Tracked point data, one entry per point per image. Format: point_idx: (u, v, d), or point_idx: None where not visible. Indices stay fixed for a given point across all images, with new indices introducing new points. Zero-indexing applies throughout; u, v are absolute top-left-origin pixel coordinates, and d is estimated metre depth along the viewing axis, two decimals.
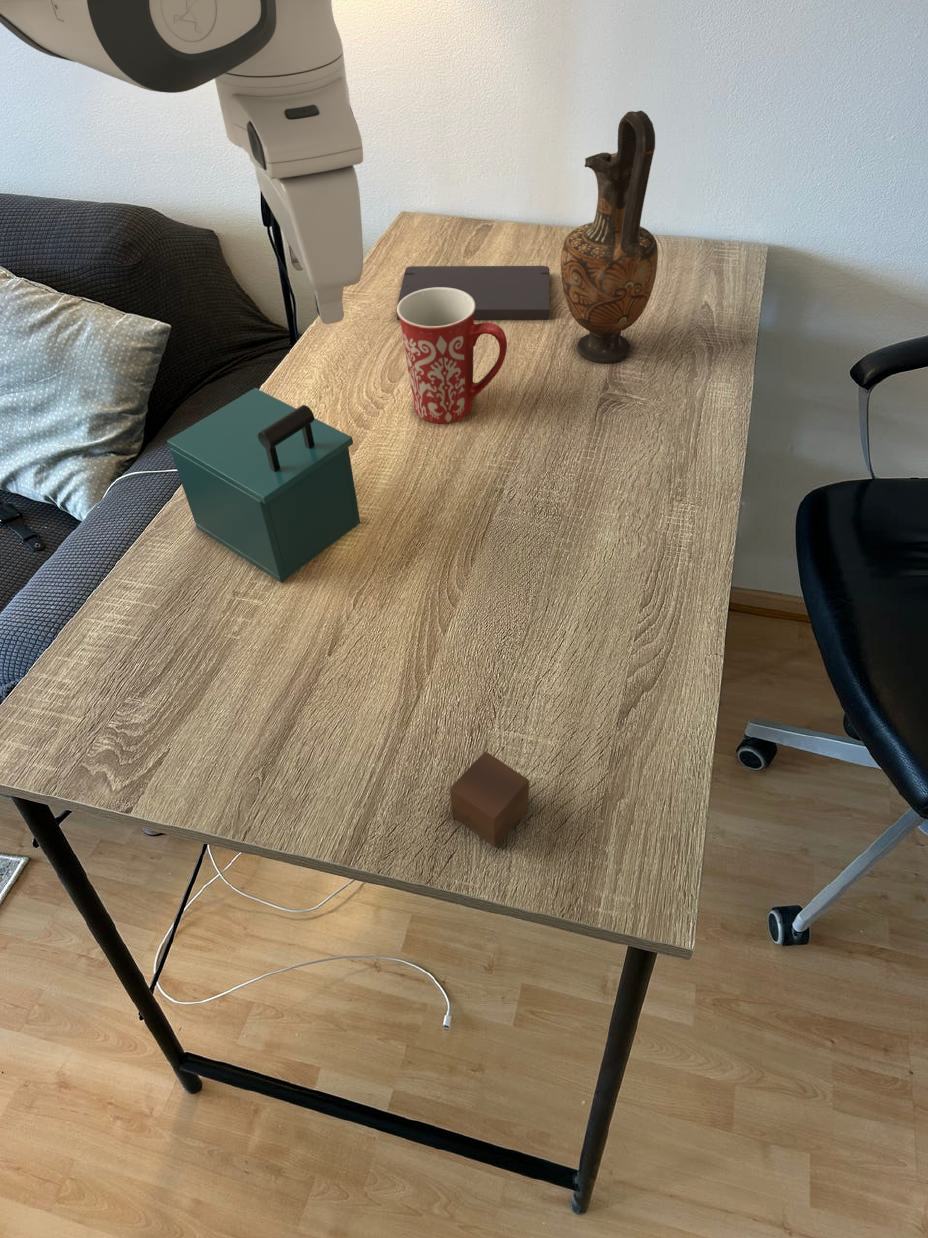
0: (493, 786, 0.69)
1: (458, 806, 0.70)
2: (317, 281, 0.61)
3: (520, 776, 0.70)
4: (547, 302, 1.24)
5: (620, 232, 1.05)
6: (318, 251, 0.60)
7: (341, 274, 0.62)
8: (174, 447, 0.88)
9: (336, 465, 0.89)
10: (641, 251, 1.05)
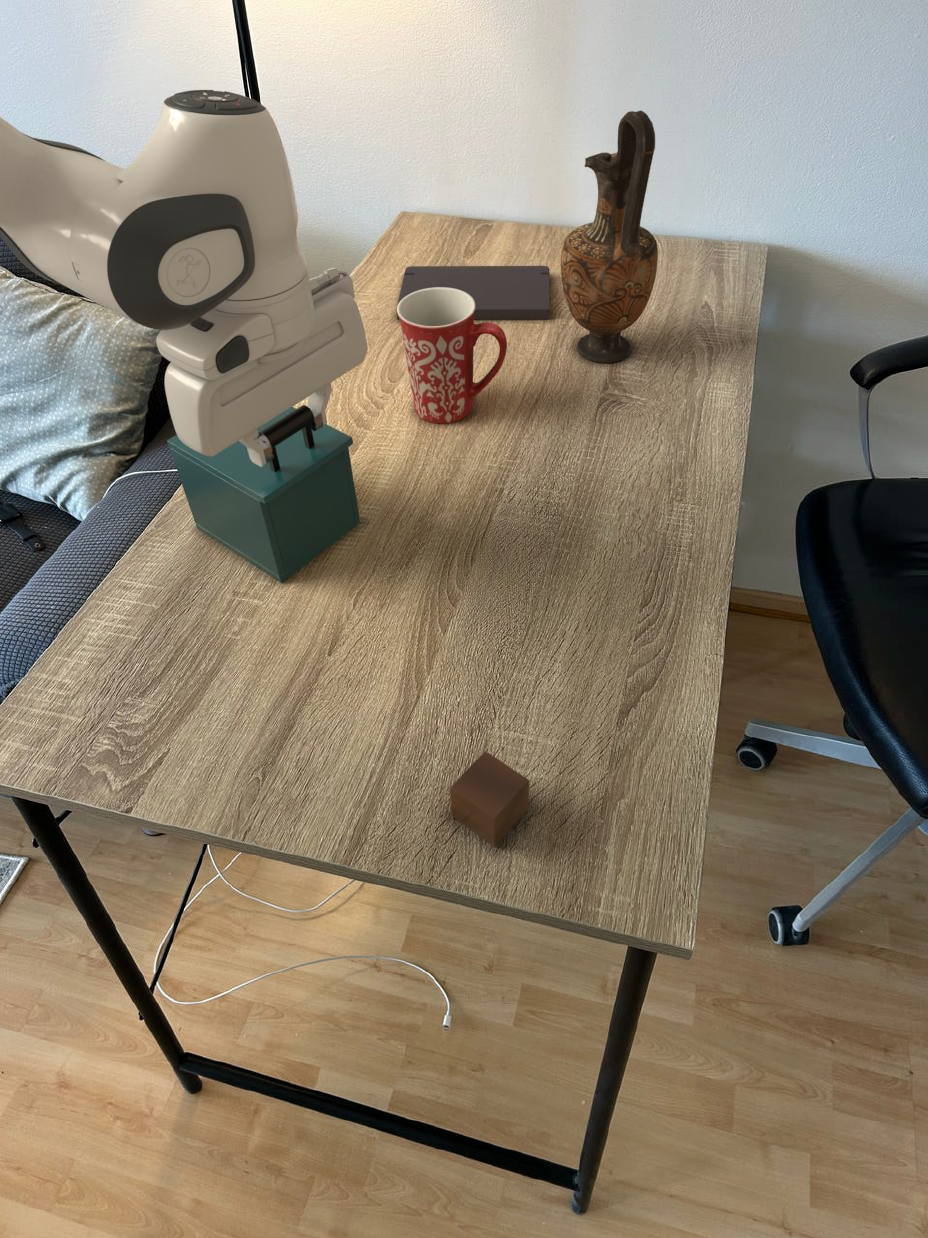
0: (493, 786, 0.69)
1: (458, 806, 0.70)
2: (178, 437, 0.76)
3: (520, 776, 0.70)
4: (547, 302, 1.24)
5: (620, 232, 1.05)
6: (176, 419, 0.75)
7: (190, 444, 0.75)
8: (174, 448, 0.88)
9: (336, 465, 0.89)
10: (641, 251, 1.05)
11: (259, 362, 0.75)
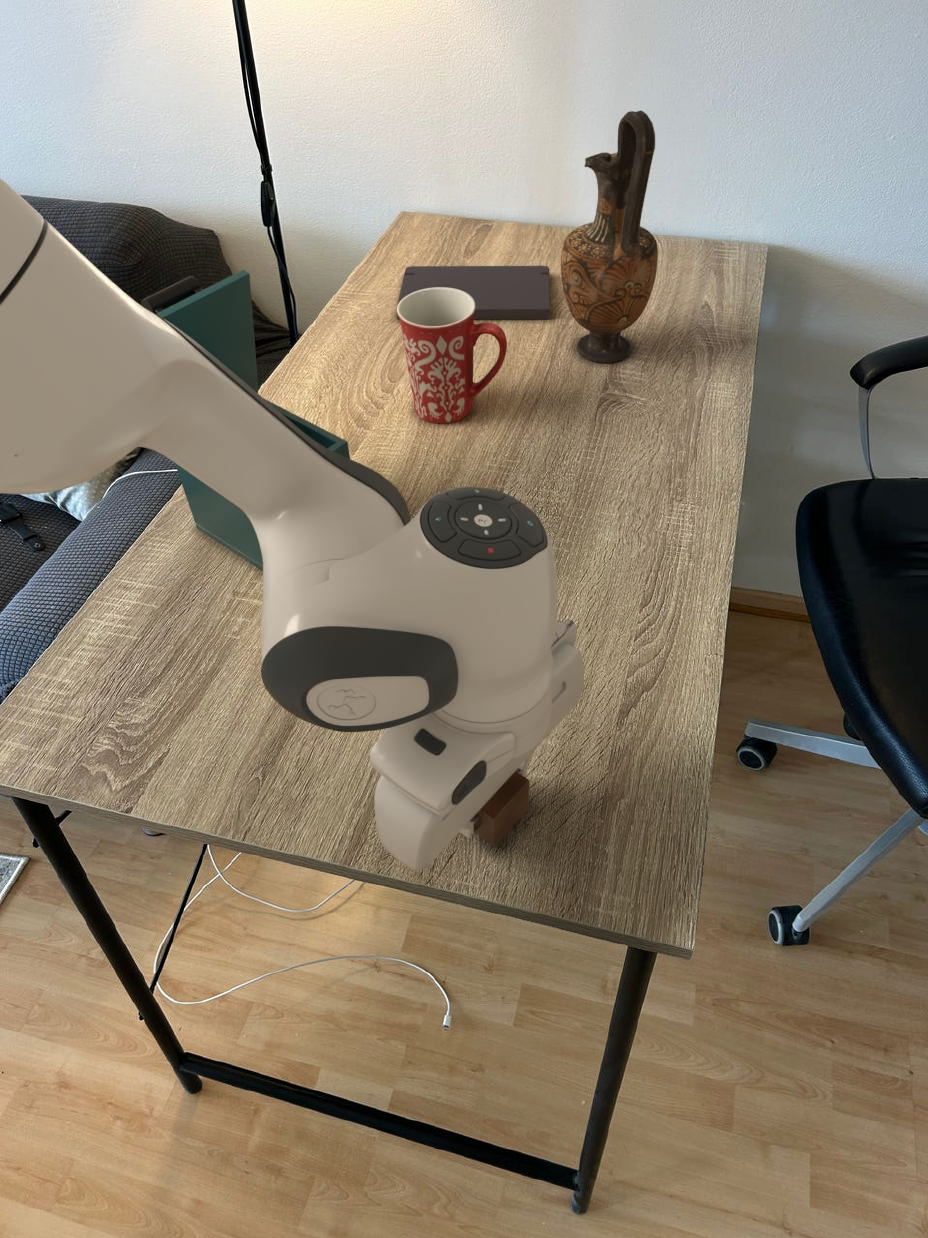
0: None
1: None
2: None
3: (520, 776, 0.70)
4: (547, 302, 1.24)
5: (620, 232, 1.05)
6: (384, 833, 0.61)
7: (399, 858, 0.62)
8: None
9: None
10: (641, 251, 1.05)
11: None
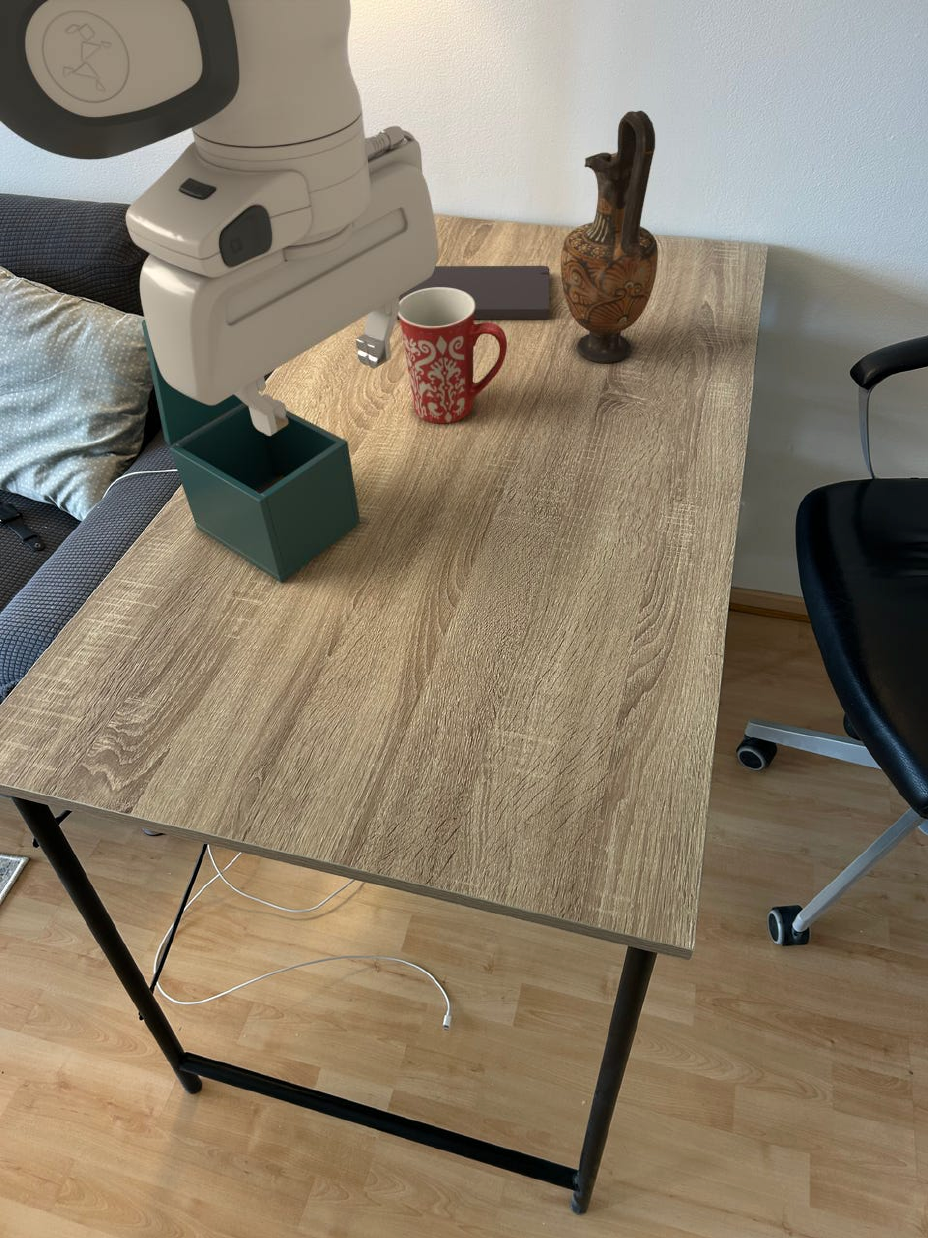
0: None
1: None
2: (163, 376, 0.50)
3: None
4: (547, 302, 1.24)
5: (620, 232, 1.05)
6: (158, 346, 0.48)
7: (180, 385, 0.49)
8: (166, 435, 0.88)
9: (336, 465, 0.89)
10: (641, 251, 1.05)
11: (286, 259, 0.49)
